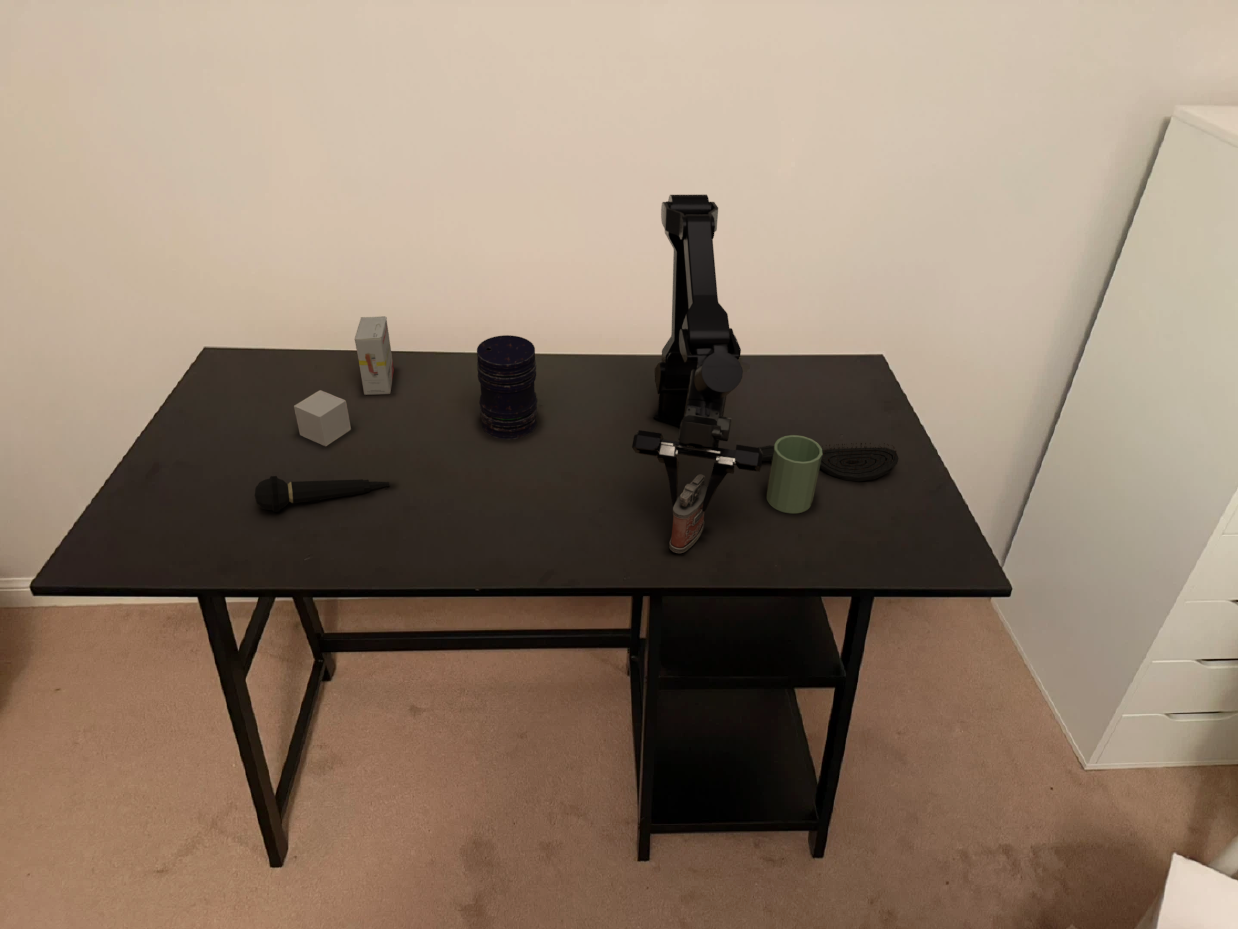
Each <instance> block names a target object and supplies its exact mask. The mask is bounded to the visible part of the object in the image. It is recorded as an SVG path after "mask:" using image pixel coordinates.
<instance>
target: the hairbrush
mask: <svg viewBox="0 0 1238 929" xmlns="http://www.w3.org/2000/svg"><path fill="white" fill-rule="evenodd" d="M864 444H865V445H864V446H863V442H860V446H859V447H858V446H855V447H847V446H846V448H845V445H846V443H841V445H842V446H841V447H843V446H844V447H843V448H840V446H839V443H838V444H837V443H836V444H835V445H836V446H838V447H837V448H835V447H833V448H832V447H831V444H828V445H827V444H825V446H826V447H827V446H828V447H829V449H828V448H826V449H822V459H821V463H820V468H819V470H820V469H821V470H822V471H823V472H825V473H826V474H828V475H829V476H832V477H835V478H838V479H839V480H843V481H850V482H865V481H873V480H876V479H878V478H881V477H882V476H884V475H887V474H890V473H891V471H892V470H893V469H894V468H895V467H896V465H898V462H899V455H898V452H897V450H896V447H895V446H893V444H891V447H892V448H889V445H890V444H888V443H887V444H886V442H884V443H883V445H885V444H886V446H887V447H885V446H883V447H882V446H880V445H878V447H876V446H874V447H866V445H867V442H865V443H864ZM850 445H853V443H852V442H851V443H850ZM855 445H857V442H856V443H855ZM869 445H871V442H869ZM823 446H824V445H821V448H823ZM757 448H760V449H761V450H762V452H763V457H762V462H769V461H772V456H773V450H774V445H772V444H771V445H764V446H759V447H757Z"/></svg>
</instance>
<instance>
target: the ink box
mask: <svg viewBox="0 0 1238 929" xmlns="http://www.w3.org/2000/svg"><path fill="white" fill-rule="evenodd" d="M354 343H355V344H354V345H355V349H356V354H357V361H358V366H359V372H360V377H361V384H362V390H363V395H365V396H366V395H367V396H370V395H372V396H373V395H390V394H391V392H392V391H391V390H392V386H393V379H394V373H395V369H394V361H393V354H392V347H391V341H390V334H389V327H388V318H387V316H381V315H380V316H362V317H360V320H359V323H358V325H357V330H356V333H355V336H354Z"/></svg>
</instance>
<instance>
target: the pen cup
mask: <svg viewBox="0 0 1238 929" xmlns="http://www.w3.org/2000/svg"><path fill="white" fill-rule="evenodd" d="M773 446H774V450H773V456H772V460H771V463H770V467H769V475H768V481H767V487H766V495H765V496H766V501H767V502H768V504H769V505H770V506H771V507H772V508H773V509H775V510H777V511H778V512H781V513H786V514H792V515H793V514H794V515H795V514H800V513H801V514H802V513H804V512H806V511H808V510H809V509H810V508H811V507H812V505H813V502H814V497H815V492H816V488H817V482H818V477H819V473H820V463H821V459H822V450H823V447H822V446H821V445H820V444H819V443H818V442H817V441H815V440H814V439H813V438H810V437H807V436H804V435H797V434H790V435H784V436H781V437H780V438H778V439H777V440H776V441H775V443H774V445H773Z"/></svg>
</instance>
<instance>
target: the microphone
mask: <svg viewBox="0 0 1238 929" xmlns="http://www.w3.org/2000/svg"><path fill="white" fill-rule="evenodd" d="M389 486H390V482H389V481H378V480H377V481H376V480H375V481H370V480H369V479H361V478H360V479H332V480H303V481H301V480H299V481H297V480H296V481H289V483H287V482H286V481H285V480H283V479H281V478H278V476H277V475H271V476H270V477H269V478H266V479H263V480H261V481H259V483H258V484H257V485H256V487H255V488H254V489H255V490H254V498H255V501H256V504H257V505H258V506H259V507H260V508H261V509H263V510H266V511H272V512H273V513H279V512H281V509H283V508H286V506H287V505H288V504H289V503H291V504H299V503H306V502H308V503H310V504H311V503H319V502H321V500H326V499H333V498H341V497H346V496H354V495H355V496H356V495H360V494H365V493H370V492H371V490H377V489H381V488H386V487H389Z"/></svg>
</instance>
